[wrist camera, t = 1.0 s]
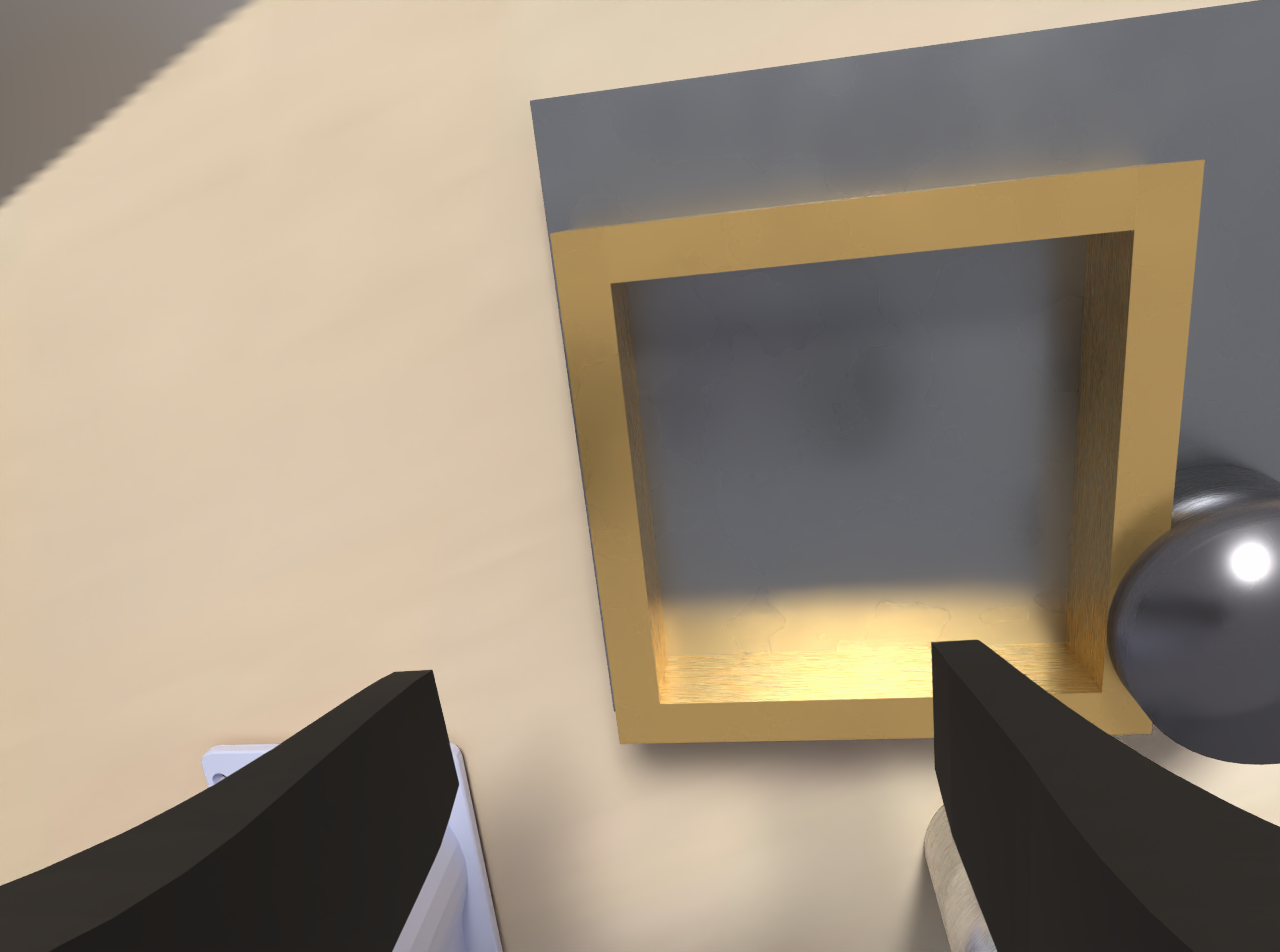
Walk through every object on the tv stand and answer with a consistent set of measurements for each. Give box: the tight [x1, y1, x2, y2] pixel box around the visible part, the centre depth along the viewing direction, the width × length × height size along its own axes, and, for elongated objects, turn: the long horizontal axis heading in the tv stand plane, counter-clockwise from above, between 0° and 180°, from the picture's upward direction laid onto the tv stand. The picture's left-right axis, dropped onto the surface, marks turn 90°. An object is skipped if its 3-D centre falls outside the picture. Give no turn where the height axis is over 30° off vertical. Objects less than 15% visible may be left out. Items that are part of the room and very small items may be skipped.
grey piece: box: [530, 0, 1280, 765], centre depth 17 cm, size 14×16×5 cm
